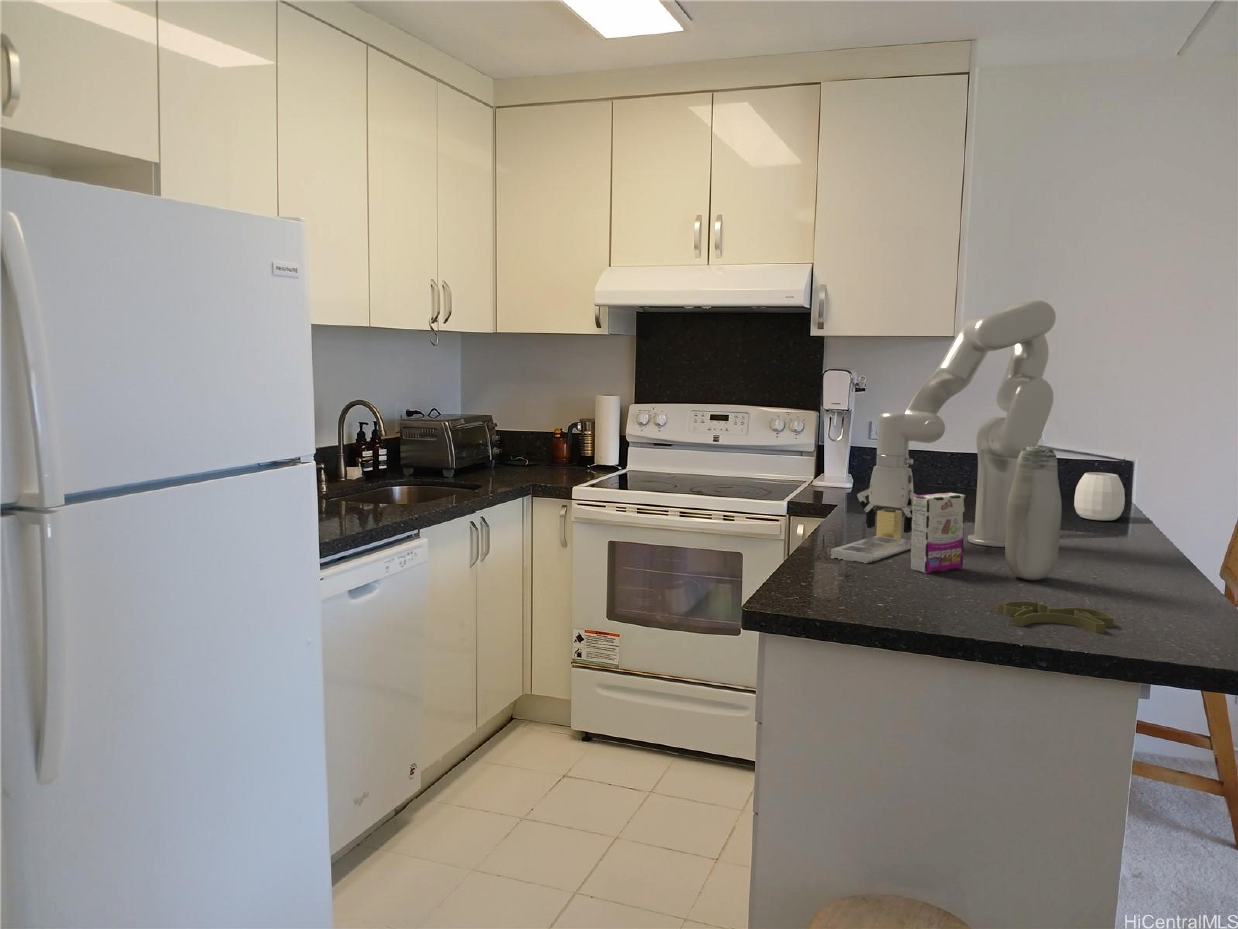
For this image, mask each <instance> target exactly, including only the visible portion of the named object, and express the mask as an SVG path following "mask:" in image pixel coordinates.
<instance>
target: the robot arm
mask: <svg viewBox="0 0 1238 929" xmlns="http://www.w3.org/2000/svg"><path fill="white" fill-rule="evenodd" d="M1056 316H1057V314H1056V311H1055V309H1054V307H1053V306H1052V305H1051V304H1050V303H1048V302H1046V301H1044V300H1030V301H1023V302H1017V303H1012V304H1011V305H1009V306H1007V307H1006V308H1005V309H1004V310H1003V311H1001V312H998V313H994V314H989V315H984V316H983V315H982V316H976V317H972V318H970V319H967V321H965V322H964V323H963V325H961V327H960V329H959V331H957V334H956V335H955V337H954V339H953V341H952V343H951V344H950V346H949V348H948V349H947V351H946V352H945V354H944V357H943V358H942V360H941V362H940V364H939V365H938V367H937V368H936V370H935V371H934V372H933V373H932V374H931V375H930V376H929V377H928V379H927V380H926V381H925V382H924V384H922V386H921V387H919V390H918V391H917V392H915V395H914V396H913V398H912V399H911V401H910V403H909V405H908V406H907V408H906V410H905V412H899V411H897V412H896V411H891V412H890V411H887V412H885V411H884V412H882V413H880V414H879V416H878V420H877V422H878V423H877V442H876V465H874V466H873V469H872V473H871V478H870V483H869V488H867V489H865V490H863V491H861V492H859V493H857V494H856V496H857V499H858V501H859V504H860V506H861V507H862V508H863V509H864V512H865V513H866V514H865V515H866V516H865V524H866V528H867V529H872V528H875V526H876V512H875V511H874V510H875V509H876V508H877V507H883V508H890V509H897V510H899V509H901V511H902V512H903V513H904V514H905V517H903V518H904V520H903V533H904V534H908V533H912V501H913V496H918V495H919V494H916V493H914V480H913V478H914V477H913V472H912V468H911V467H909V465H913V464H914V459H913V458H910V455H909V446H910V445H909V444H910V442H916V443H917V442H918V443H923V444H930V443H931V444H933V443H934V442H937V441H939V440H940V439H941V438H942V437H943V436H944V434H945V431H946V425H945V421H944V420H943V418H942V417H941V416H939V415H938V413H939V411H940V410H941V408H942V407H943V406H944V404H946V402H947V401H948V400H950V399H951V398H952V397H954V396H955V395H957V394H959V393H960V392H962V391H963V390H965V389H966V388H967V387H968V386H969V385H970V384H971V382H972V381H973V379H974V377H975V375H976V373H977V372H978V370H979V368H980V366H981V365H982V363H983V361H984V359H985V358H986V357H987V355H988V353H989V352H995V351H999V350H1003V349H1006V348H1009V347H1011V349H1010V350H1011V351H1010V357H1009V360H1008V364H1007V367H1006V369H1005V372H1004V374H1003V377H1002V379H1001V382H1000V384H999V387H998V389H997V393H996V399H995V400H996V403H997V404H996V405H997V406H998V407H999V409H1000V410H1002V411H1004V412H1005V413H1006V416H1005V417H1004V416H998V417H997V416H996V417H991V418H989V419H987V420H985V421H984V422H983V423H981V425H980V427H978V430H977V432H976V452H977V481H976V482H977V484H976V497H975V498H976V499H975V501H976V503H975V516H974V518H975V520H974V533H973V534H970V535H969V534H968V535H967V541H968V542H969V543H972V544H975V545H980V546H987V547H995V548H996V547H997V548H1005V543H1006V517H1007V503H1008V498H1009V494H1010V490H1011V487H1012V484H1013V481H1014V478H1015V473H1016V468H1017V461H1018V457H1019V454H1020V453H1021V451H1022V450H1023V449H1024V448H1026V447H1028V446H1031V445H1039V444H1038V443H1039V442H1040V439H1041V437H1042V434H1043V432H1044V429H1045V426H1046V425H1047V422H1048V418H1049V416H1050V414H1051V411H1052V408H1053V404H1054V392H1053V388H1052V386H1051V384H1050V383H1049V382H1048V381H1047V380H1046V379H1045V378H1044V373H1045V371H1046V367H1047V364H1048V361H1049V352H1050V351H1049V344H1048V341H1047V338H1046V334H1047V333H1048V332H1050V331H1051V330H1052V328H1054V325H1055V323H1056V321H1057V320H1056V319H1057V318H1056ZM866 496H868V501H867V499H866Z"/></svg>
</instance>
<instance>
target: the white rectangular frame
mask: <svg viewBox="0 0 1238 929" xmlns="http://www.w3.org/2000/svg"><path fill="white" fill-rule="evenodd" d="M908 550H911V539H904V538H901V539H898V538H890V537H883V536H876V535H873V536H871V537H867V538H864V539H860V540H858V541H854V542H850V543H848V544H844V545H841V546H840V545H839V546H838V547H833V548H831V549H830V559H834V558H838V559H837V560H840V559H843V560H842V561H846V562H847V561H848V562H853V561H859V562H864V563H863V564H866V563H868V564H870V563H869V562H871V563H873V562H872V561H874V562H876V561H879V560H881V558H882V559H885V558H888V557H891V556H894V555H897V554H899V553H902V552H905V551H908ZM859 562H858V563H859Z"/></svg>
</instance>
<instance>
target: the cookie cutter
mask: <svg viewBox="0 0 1238 929" xmlns="http://www.w3.org/2000/svg"><path fill="white" fill-rule="evenodd" d="M996 603H997V604H996V612H997V613H998V612H999V614H1002V613H1004V614H1005V615H1004V614H1003V615H1004V616H1008V617H1013V616H1014V617H1013V621H1012V622H1013V623H1012V624H1013V626H1016V627H1022V626H1023V627H1025V626H1028V625H1030V624H1036V623H1039V624H1040V623H1052V624H1060V625H1061V624H1062V625H1069V626H1073V627H1078V628H1082V629H1085V630H1088V631H1090V632H1092V633H1095V634H1105V629H1106V628H1114V620H1115V618H1114V617H1113V616H1112V615H1110V614H1108V613H1106V612H1104V611H1100V610H1095V609H1091V608H1085V607H1062V608H1061V607H1060V608H1051V607H1050V605H1045V604H1042V603H1041V602H1038V601H1026V600H1024V601H1023V600H1021V601H1019V600H1017V601H1015V600H1013V601H1007V602H996ZM1033 612H1035V613H1033Z"/></svg>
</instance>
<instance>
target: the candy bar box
mask: <svg viewBox="0 0 1238 929" xmlns="http://www.w3.org/2000/svg"><path fill="white" fill-rule="evenodd" d="M917 495H918V496H913V501H912V506H911V507H912V530H911V536H910V538H911V539H910V540H911V549H910V566H909V567H910V570H912V571H914V572H918V573H921V572H922V574H925V575H926V574H927V573H928V574H933V573H932V572H936V573H941V572H943V573H944V572H948V571H949V570H950V571H955V570H962V569H963V568H964V566H963V564H964V562H963V561H964V560H963V559H964V557H963V556H964V538H965V537H964V536H965V534H964V533H965V531H964V530H965V512H966V510H965V509H966V508H965V507H966V495H965V494H961V493H954V492H945V493H944V492H943V493H933V494H921V495H919V494H917ZM950 571H949V572H950Z"/></svg>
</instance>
